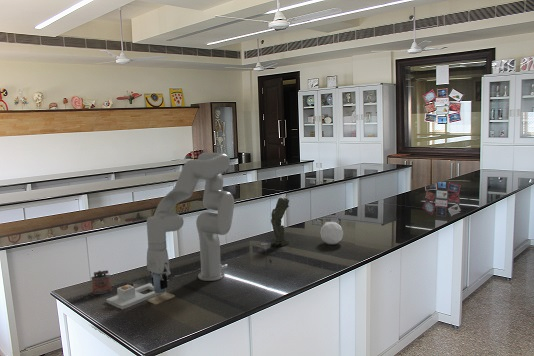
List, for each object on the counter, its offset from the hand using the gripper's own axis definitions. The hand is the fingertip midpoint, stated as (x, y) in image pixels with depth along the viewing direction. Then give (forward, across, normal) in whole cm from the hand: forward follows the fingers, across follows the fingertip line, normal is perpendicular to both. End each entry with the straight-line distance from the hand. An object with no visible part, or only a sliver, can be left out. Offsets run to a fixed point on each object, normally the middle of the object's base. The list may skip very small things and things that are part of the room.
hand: (159, 286), depth 192 cm
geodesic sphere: (+5, +18, +109) cm, 111 cm away
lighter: (+6, -28, -11) cm, 31 cm away
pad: (+6, 0, 0) cm, 6 cm away
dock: (+6, -11, -5) cm, 13 cm away
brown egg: (+4, -10, -10) cm, 15 cm away
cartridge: (+2, 0, 0) cm, 2 cm away
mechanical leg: (+5, -6, +91) cm, 92 cm away
